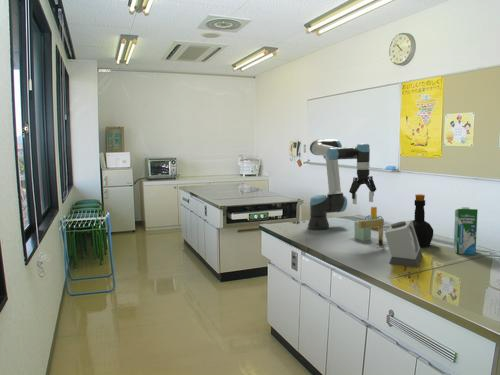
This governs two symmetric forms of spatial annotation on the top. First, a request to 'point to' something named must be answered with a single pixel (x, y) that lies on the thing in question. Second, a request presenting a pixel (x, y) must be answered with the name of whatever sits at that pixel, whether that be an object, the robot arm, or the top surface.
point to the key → (373, 223)
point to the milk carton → (465, 231)
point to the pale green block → (362, 232)
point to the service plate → (372, 242)
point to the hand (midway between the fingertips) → (362, 202)
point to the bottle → (422, 223)
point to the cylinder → (373, 215)
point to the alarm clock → (403, 244)
